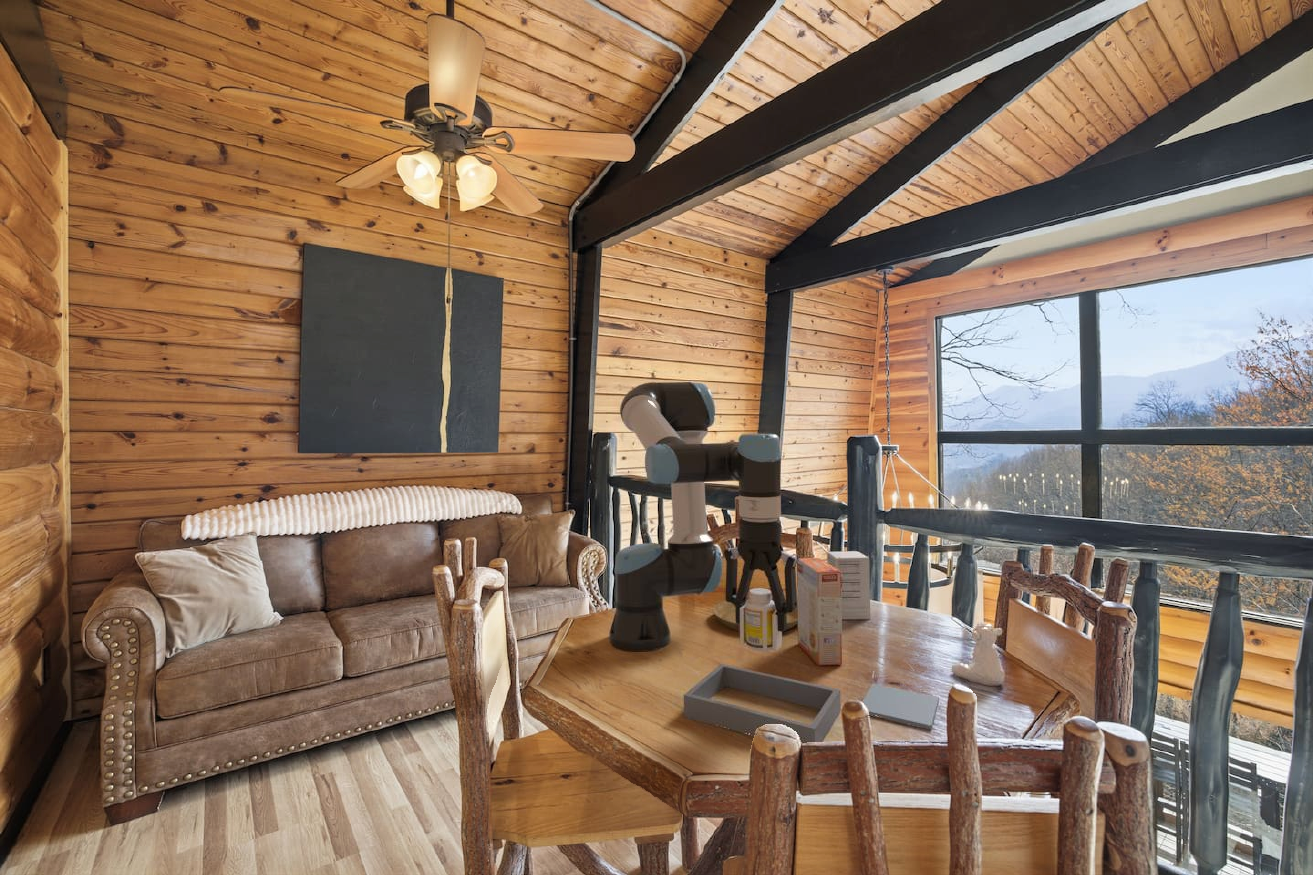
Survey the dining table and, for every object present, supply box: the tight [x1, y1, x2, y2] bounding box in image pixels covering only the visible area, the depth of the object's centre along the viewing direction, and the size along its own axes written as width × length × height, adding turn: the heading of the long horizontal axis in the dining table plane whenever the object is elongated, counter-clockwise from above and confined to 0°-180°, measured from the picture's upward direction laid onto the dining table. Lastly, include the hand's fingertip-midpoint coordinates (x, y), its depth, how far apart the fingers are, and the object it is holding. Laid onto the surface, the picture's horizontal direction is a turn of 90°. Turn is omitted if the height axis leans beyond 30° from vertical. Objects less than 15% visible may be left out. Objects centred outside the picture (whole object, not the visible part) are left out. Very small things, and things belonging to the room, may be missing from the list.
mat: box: [862, 683, 940, 731], centre depth 107 cm, size 12×12×1 cm
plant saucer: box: [712, 596, 798, 632], centre depth 156 cm, size 24×24×3 cm
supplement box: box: [826, 550, 871, 620], centre depth 160 cm, size 10×9×17 cm
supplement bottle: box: [745, 587, 776, 652], centre depth 105 cm, size 6×6×10 cm
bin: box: [683, 663, 842, 743], centre depth 105 cm, size 24×16×4 cm, turn 58°
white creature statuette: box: [951, 622, 1006, 687], centre depth 118 cm, size 10×9×12 cm
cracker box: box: [796, 557, 843, 667], centre depth 132 cm, size 14×6×21 cm, turn 4°
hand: (760, 644), depth 105 cm, fingers closed on supplement bottle, 6 cm apart
